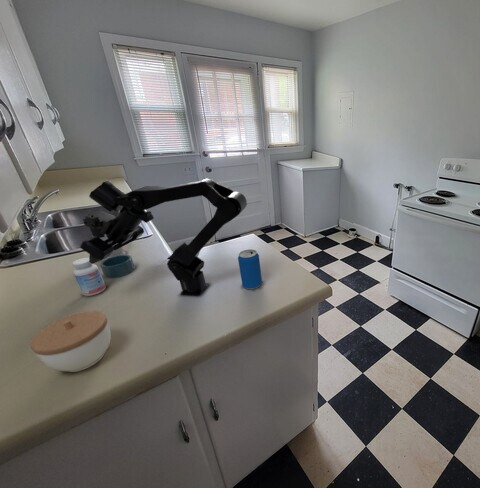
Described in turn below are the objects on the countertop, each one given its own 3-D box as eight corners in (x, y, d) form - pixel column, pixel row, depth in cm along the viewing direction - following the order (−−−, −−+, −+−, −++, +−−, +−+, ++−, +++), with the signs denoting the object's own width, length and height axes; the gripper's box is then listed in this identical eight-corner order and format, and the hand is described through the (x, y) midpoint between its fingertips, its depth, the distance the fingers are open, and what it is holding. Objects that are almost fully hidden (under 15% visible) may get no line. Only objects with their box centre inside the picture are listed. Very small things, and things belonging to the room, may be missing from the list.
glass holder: (123, 249, 118) (112, 217, 112) (129, 260, 108) (117, 225, 102) (99, 255, 113) (85, 222, 107) (103, 267, 103) (88, 231, 97)
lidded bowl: (43, 393, 55) (17, 353, 50) (53, 354, 64) (32, 317, 60) (119, 363, 61) (102, 325, 57) (118, 332, 71) (103, 297, 66)
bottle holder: (140, 265, 104) (137, 255, 103) (122, 278, 96) (117, 267, 94) (118, 264, 105) (114, 254, 103) (97, 277, 97) (93, 266, 95)
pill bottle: (93, 297, 85) (79, 266, 81) (78, 295, 86) (63, 264, 82) (111, 287, 91) (99, 257, 86) (96, 285, 92) (83, 255, 87)
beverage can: (266, 282, 92) (262, 250, 87) (254, 292, 87) (249, 259, 82) (251, 278, 94) (246, 247, 90) (238, 287, 89) (232, 255, 84)
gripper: (123, 194, 85) (101, 227, 89) (72, 212, 68) (48, 252, 72) (155, 218, 88) (131, 249, 93) (114, 241, 71) (88, 277, 76)
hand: (103, 255), depth 83 cm, fingers open, 9 cm apart
